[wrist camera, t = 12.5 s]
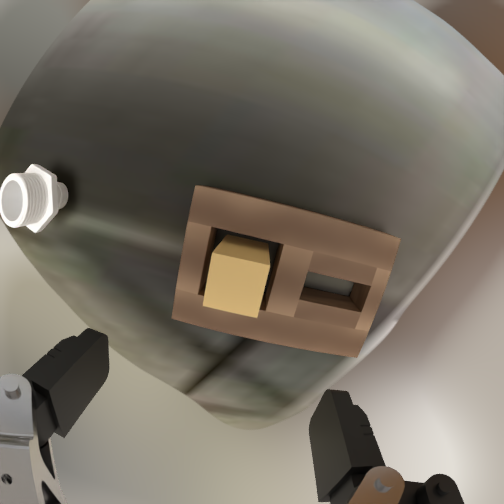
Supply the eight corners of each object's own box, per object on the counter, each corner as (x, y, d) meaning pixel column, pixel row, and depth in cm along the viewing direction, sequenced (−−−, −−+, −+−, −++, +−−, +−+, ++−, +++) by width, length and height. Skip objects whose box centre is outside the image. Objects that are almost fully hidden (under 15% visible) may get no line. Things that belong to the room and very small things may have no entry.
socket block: (205, 185, 26) (195, 184, 22) (383, 232, 26) (401, 239, 22) (182, 302, 29) (171, 318, 25) (347, 338, 29) (357, 357, 25)
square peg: (227, 234, 27) (212, 252, 19) (268, 243, 27) (270, 265, 19) (219, 273, 28) (202, 305, 20) (258, 282, 28) (257, 318, 20)
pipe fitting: (34, 192, 27) (-12, 197, 19) (67, 155, 26) (19, 150, 18) (53, 234, 28) (8, 248, 20) (89, 199, 27) (41, 205, 19)
